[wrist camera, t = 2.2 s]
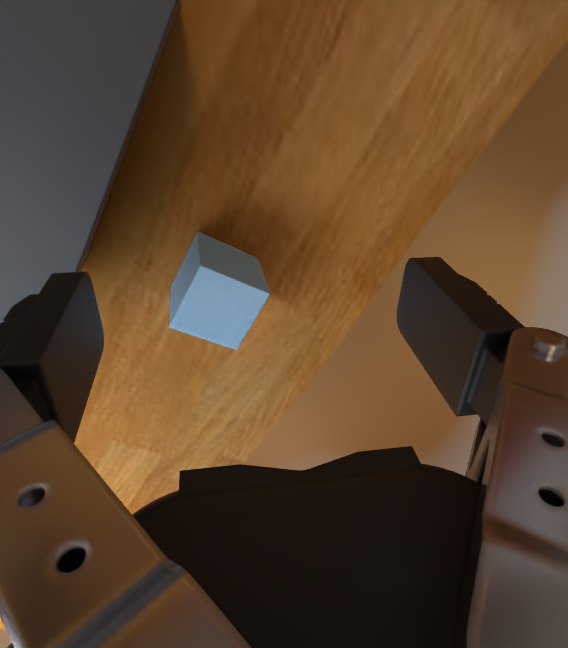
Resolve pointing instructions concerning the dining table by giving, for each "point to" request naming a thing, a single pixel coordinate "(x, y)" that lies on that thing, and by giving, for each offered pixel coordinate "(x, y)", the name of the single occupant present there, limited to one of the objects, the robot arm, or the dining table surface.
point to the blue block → (217, 292)
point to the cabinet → (67, 124)
